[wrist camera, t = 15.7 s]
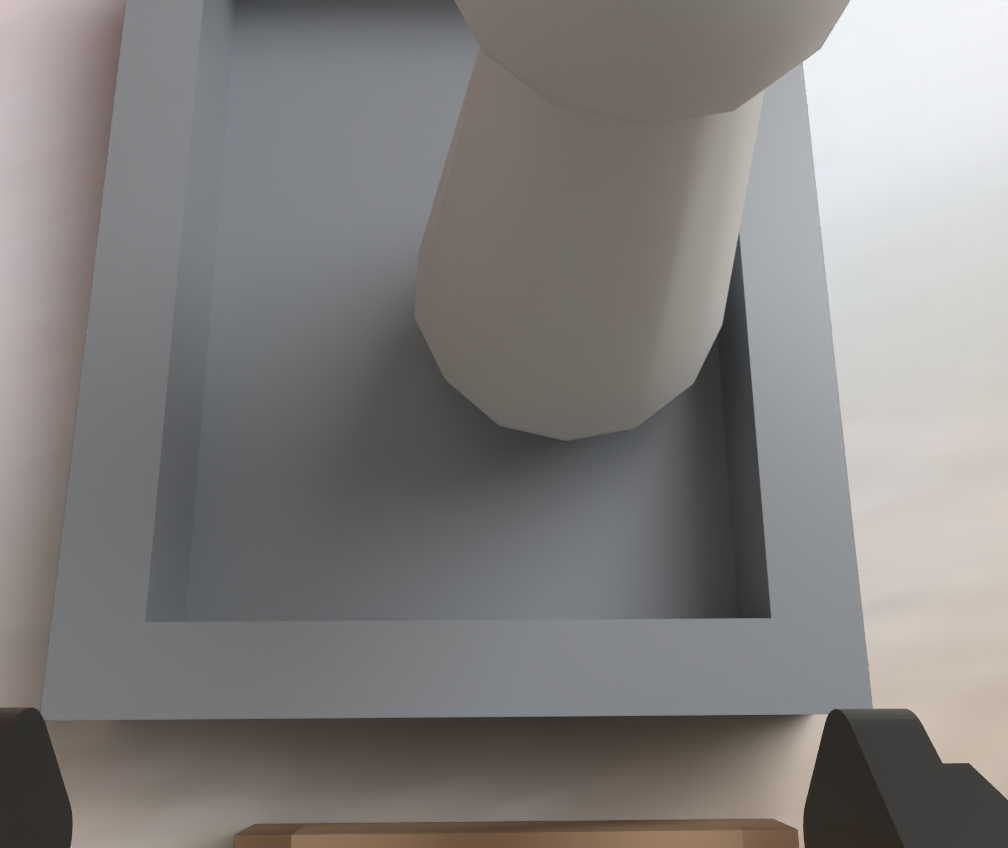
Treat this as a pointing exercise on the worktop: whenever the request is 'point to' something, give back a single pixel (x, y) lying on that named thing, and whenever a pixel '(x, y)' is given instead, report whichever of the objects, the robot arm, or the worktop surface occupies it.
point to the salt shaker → (598, 200)
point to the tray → (415, 423)
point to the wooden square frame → (526, 834)
